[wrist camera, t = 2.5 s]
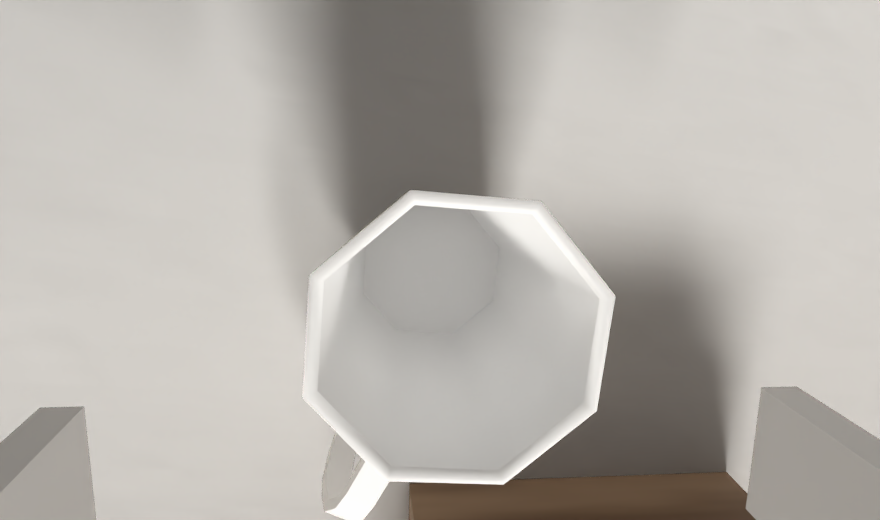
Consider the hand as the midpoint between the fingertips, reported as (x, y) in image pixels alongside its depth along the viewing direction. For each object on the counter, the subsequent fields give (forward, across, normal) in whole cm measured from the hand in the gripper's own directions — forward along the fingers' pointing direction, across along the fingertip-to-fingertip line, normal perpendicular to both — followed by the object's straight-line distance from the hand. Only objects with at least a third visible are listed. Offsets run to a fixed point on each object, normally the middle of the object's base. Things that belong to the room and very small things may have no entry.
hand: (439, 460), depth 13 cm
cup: (+10, 0, 0) cm, 10 cm away
